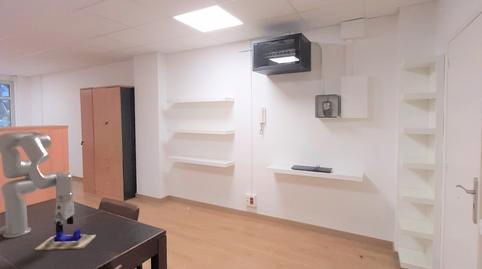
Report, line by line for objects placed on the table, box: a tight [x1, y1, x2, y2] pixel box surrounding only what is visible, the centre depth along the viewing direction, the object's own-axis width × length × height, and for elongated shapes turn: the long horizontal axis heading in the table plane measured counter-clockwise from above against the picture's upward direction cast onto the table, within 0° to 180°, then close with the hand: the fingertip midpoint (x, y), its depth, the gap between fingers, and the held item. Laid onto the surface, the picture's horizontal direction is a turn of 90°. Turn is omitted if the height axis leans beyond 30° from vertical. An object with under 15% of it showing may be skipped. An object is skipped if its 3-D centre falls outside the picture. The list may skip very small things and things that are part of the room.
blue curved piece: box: [54, 228, 82, 242], centre depth 143 cm, size 12×4×6 cm, turn 84°
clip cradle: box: [34, 233, 97, 251], centre depth 143 cm, size 24×14×2 cm, turn 95°
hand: (65, 227), depth 143 cm, fingers open, 9 cm apart
